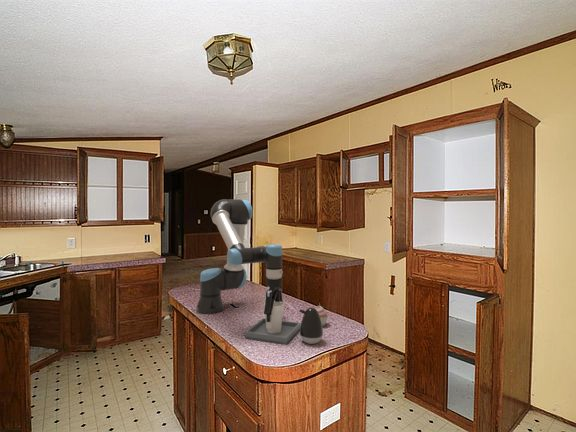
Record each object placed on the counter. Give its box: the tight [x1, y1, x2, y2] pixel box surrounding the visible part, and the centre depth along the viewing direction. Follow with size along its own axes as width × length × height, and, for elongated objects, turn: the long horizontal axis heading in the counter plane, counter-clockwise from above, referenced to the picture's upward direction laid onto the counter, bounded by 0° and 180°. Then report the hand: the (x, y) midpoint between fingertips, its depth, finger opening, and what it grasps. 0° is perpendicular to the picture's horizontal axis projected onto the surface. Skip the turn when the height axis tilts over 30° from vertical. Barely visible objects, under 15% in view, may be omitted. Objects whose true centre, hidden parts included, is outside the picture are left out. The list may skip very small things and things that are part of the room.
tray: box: [244, 317, 301, 346], centre depth 155 cm, size 20×20×3 cm
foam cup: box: [263, 301, 285, 334], centre depth 155 cm, size 10×9×13 cm
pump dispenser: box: [299, 306, 324, 345], centre depth 146 cm, size 10×10×15 cm
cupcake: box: [314, 305, 329, 327], centre depth 167 cm, size 9×9×10 cm
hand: (273, 324), depth 155 cm, fingers open, 11 cm apart
